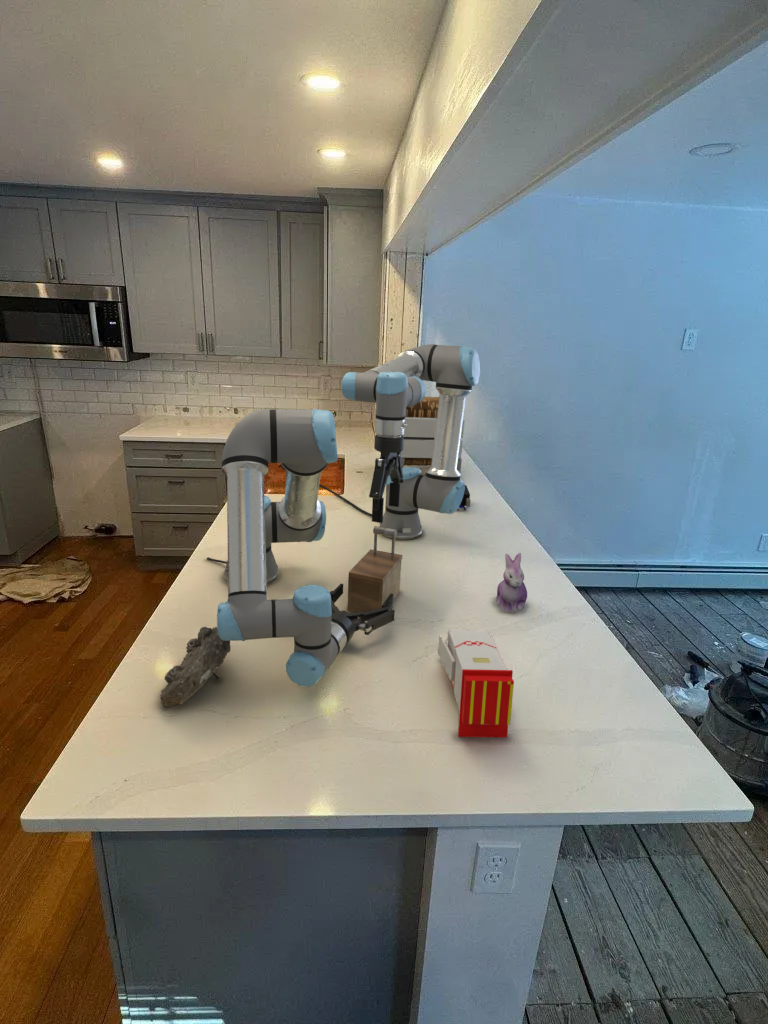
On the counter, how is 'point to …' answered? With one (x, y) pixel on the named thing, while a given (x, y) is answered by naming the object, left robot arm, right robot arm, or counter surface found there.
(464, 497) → the figurine character
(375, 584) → the chest
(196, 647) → the fossil
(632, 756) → the counter surface
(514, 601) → the figurine
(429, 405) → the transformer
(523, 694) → the counter surface
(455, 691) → the toy
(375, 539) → the lid
